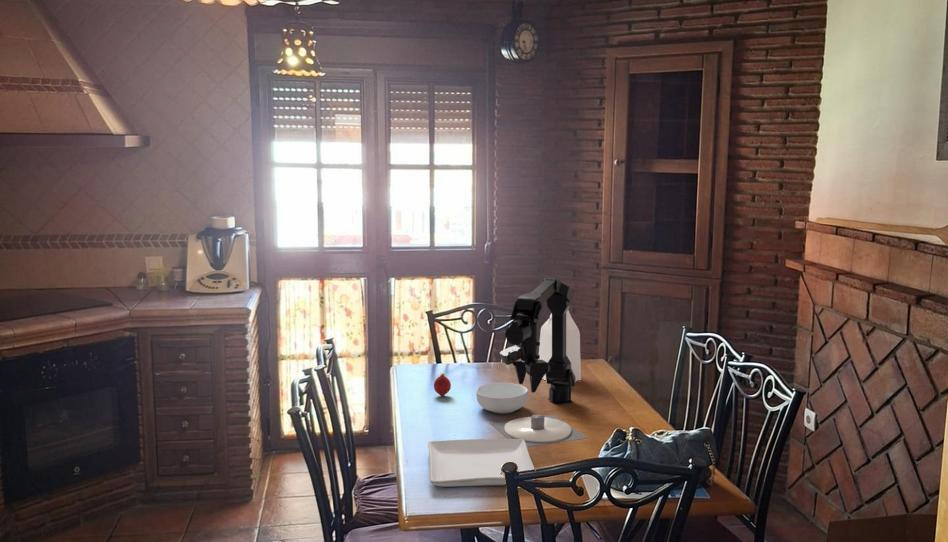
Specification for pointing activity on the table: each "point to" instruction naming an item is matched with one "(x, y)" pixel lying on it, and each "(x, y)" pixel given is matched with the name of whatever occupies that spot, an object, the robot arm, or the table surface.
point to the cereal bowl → (502, 397)
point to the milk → (571, 344)
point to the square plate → (475, 461)
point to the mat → (573, 436)
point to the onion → (442, 385)
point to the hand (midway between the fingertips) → (527, 388)
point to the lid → (537, 429)
